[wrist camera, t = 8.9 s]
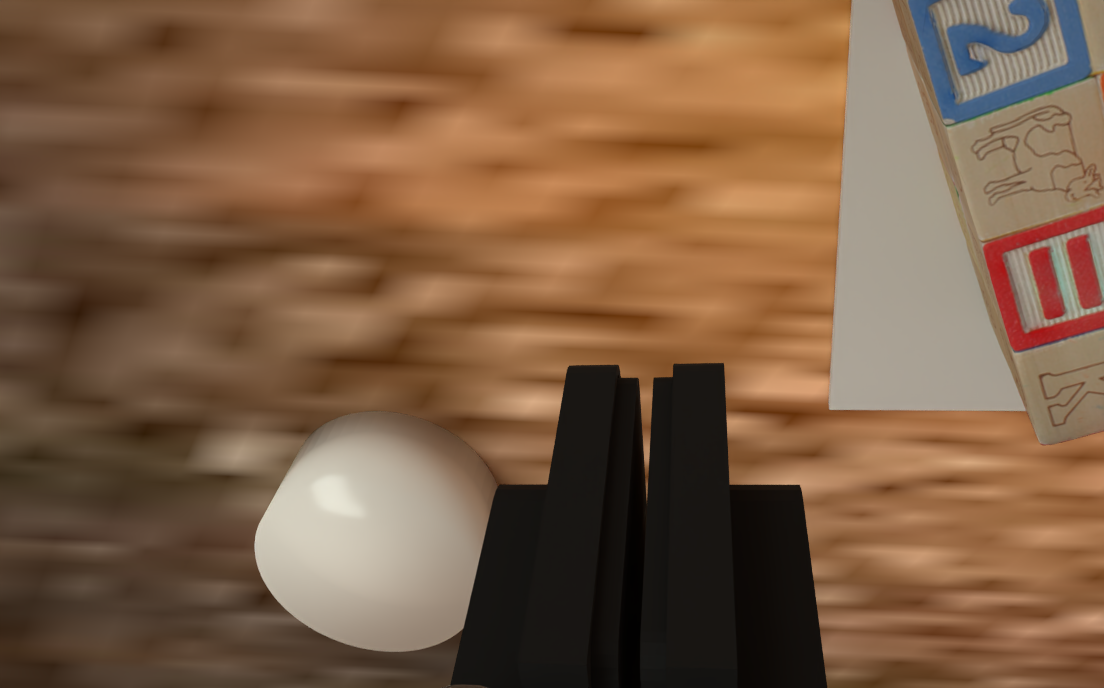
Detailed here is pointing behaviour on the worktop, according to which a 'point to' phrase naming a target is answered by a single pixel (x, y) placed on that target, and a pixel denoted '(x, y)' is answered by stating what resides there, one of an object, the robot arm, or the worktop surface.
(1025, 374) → the stack of blocks
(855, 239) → the silicone mat
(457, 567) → the cream dome knob
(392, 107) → the worktop surface
